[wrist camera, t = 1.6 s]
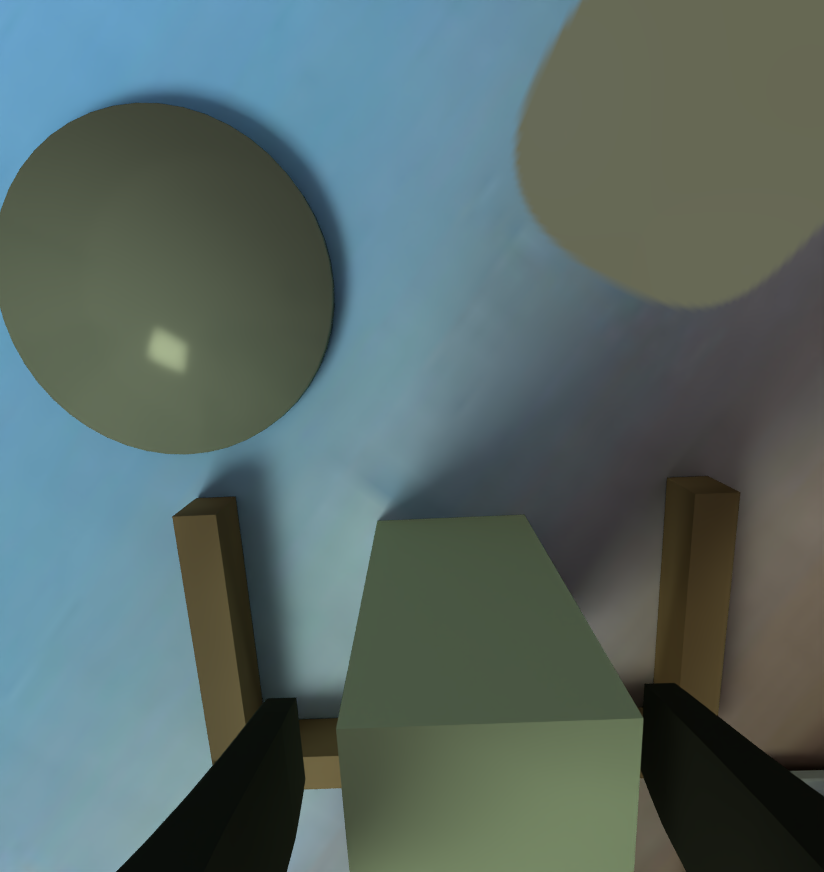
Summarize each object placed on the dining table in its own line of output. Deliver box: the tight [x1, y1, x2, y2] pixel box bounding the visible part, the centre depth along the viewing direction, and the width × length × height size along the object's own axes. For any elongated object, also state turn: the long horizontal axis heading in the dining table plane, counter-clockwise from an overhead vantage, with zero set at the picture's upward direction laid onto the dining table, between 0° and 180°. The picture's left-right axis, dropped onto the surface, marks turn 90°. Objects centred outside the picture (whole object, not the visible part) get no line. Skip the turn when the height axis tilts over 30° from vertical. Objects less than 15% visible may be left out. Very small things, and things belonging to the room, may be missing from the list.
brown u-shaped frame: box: [172, 476, 740, 789], centre depth 15 cm, size 15×9×2 cm, turn 93°
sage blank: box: [336, 515, 643, 872], centre depth 12 cm, size 4×5×8 cm
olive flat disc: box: [0, 103, 335, 454], centre depth 13 cm, size 9×9×1 cm
